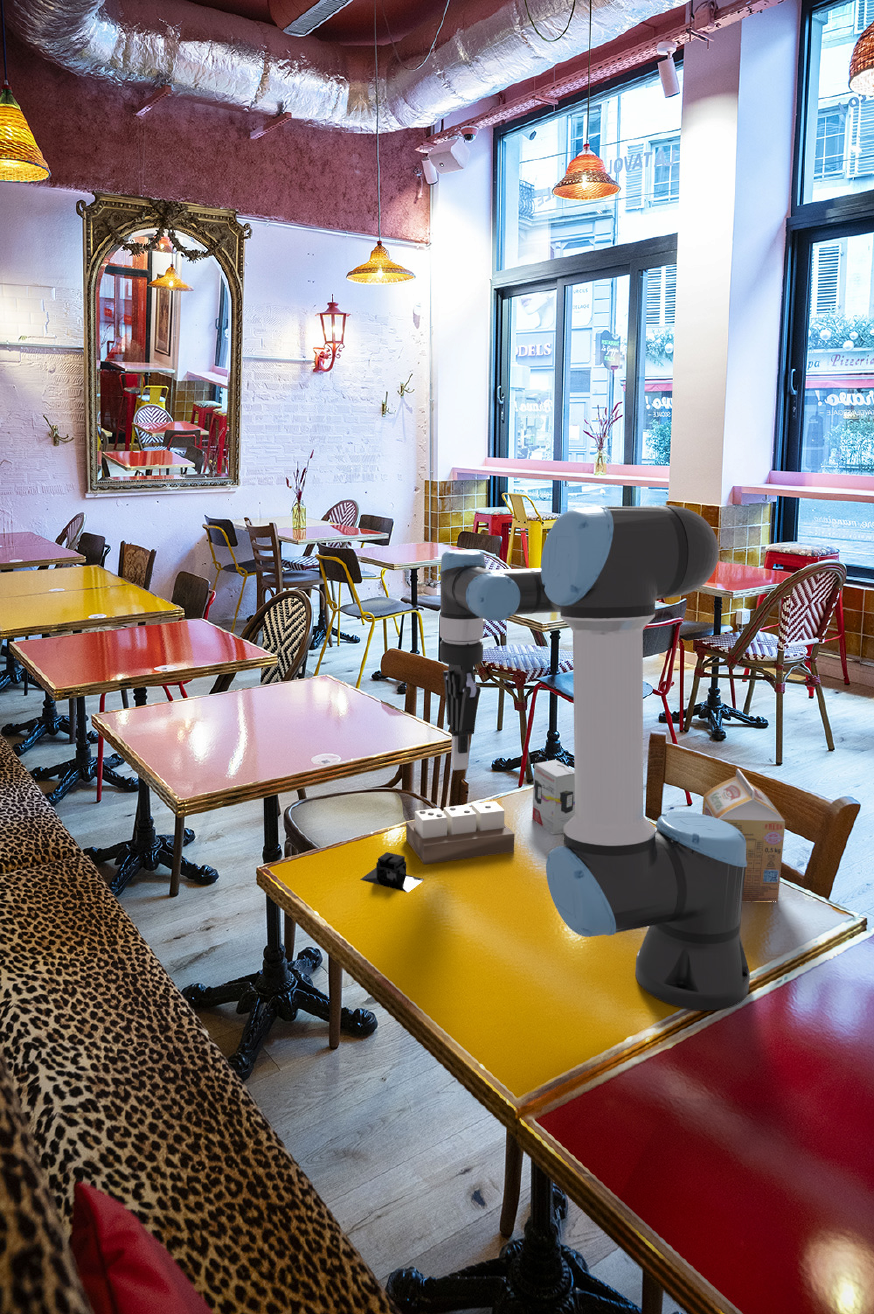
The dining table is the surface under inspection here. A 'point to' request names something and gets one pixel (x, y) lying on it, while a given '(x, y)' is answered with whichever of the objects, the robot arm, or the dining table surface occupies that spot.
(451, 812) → the tile two
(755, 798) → the milk carton
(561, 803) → the ink box
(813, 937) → the dining table surface
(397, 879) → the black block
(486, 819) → the tile one
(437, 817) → the tile three
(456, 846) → the board
